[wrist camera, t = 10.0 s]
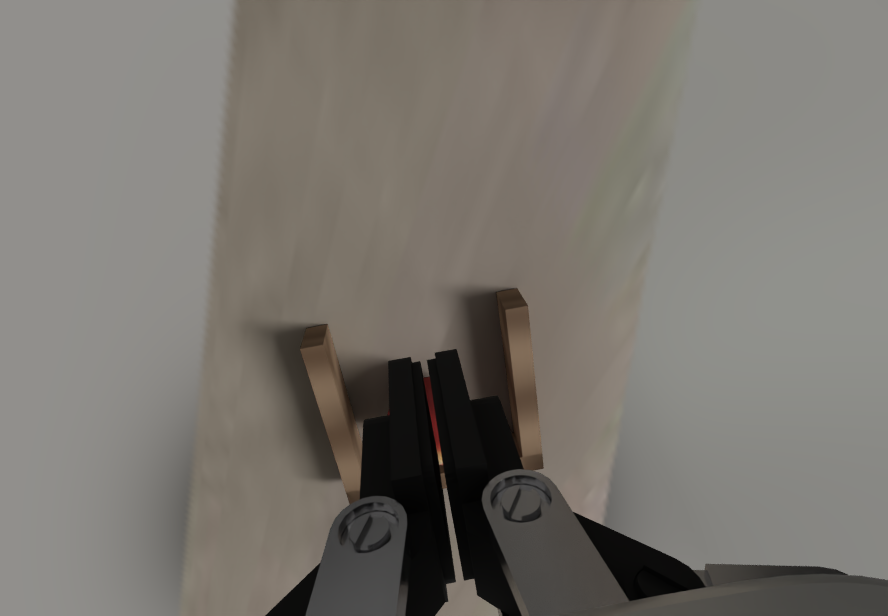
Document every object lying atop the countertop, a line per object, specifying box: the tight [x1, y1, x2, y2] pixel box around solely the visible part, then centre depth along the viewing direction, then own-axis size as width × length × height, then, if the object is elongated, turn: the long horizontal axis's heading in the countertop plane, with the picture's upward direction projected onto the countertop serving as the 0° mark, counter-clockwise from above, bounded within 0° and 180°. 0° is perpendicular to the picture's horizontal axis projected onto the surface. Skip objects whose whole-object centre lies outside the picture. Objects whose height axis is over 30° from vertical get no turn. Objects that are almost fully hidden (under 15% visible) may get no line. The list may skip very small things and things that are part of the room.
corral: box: [300, 288, 544, 504], centre depth 38 cm, size 14×15×3 cm
